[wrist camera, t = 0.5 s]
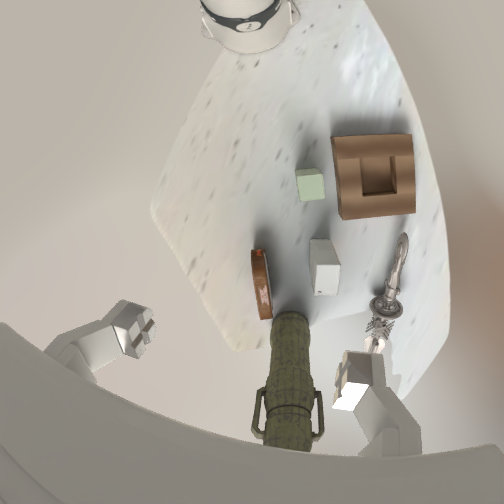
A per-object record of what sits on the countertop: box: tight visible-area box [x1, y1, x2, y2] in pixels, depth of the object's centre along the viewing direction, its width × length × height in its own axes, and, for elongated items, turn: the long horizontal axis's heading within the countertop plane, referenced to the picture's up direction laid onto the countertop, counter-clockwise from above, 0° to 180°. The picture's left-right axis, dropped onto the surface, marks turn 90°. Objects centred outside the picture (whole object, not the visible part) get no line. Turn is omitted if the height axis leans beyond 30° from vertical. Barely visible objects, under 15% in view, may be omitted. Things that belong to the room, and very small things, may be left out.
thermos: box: [251, 311, 324, 453], centre depth 48 cm, size 9×12×35 cm
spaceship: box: [364, 233, 408, 354], centre depth 54 cm, size 8×35×8 cm
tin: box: [251, 249, 273, 320], centre depth 55 cm, size 15×3×8 cm, turn 8°
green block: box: [295, 168, 325, 201], centre depth 46 cm, size 4×4×9 cm
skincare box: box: [309, 239, 341, 296], centre depth 50 cm, size 6×4×12 cm
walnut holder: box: [331, 134, 416, 220], centre depth 46 cm, size 15×15×4 cm
